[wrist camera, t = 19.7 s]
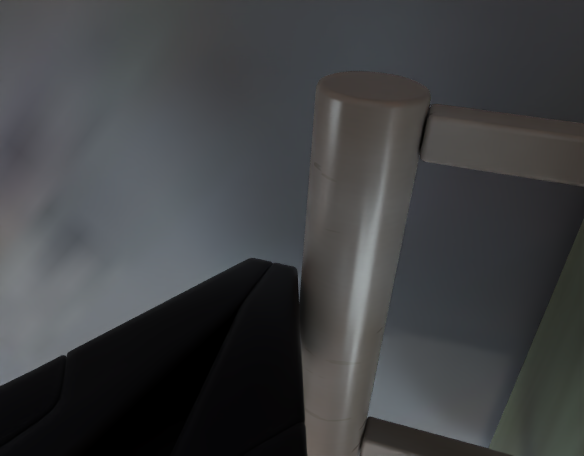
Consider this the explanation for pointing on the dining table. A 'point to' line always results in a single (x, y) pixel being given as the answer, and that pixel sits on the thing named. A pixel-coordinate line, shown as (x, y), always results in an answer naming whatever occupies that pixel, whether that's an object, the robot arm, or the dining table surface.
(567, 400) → the drawer
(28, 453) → the robot arm
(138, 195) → the dining table surface
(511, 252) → the dining table surface
